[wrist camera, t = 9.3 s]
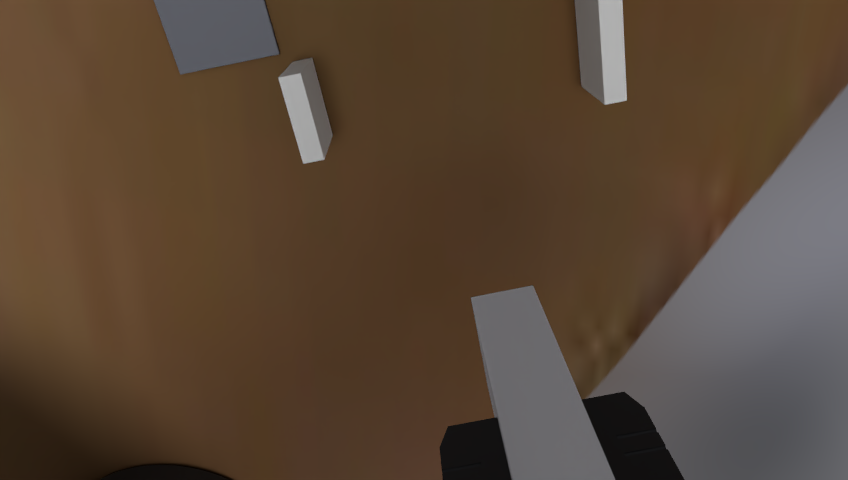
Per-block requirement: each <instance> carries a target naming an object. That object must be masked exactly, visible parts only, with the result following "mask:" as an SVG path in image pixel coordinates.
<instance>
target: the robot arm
mask: <svg viewBox="0 0 848 480" xmlns="http://www.w3.org/2000/svg"><path fill="white" fill-rule="evenodd" d="M471 301H472V306H473V312H474V317H475V322H476V327H477V332H478V338H479V343H480V348H481V353H482V359H483V364H484V369H485V374H486V380H487V385H488V390H489V394H490V399H491V403H492V408H493V412H494V417H495V418H491V419H485V420H480V421H475V422H469V423H464V424H459V425H453V426H448V428H447V430H446V433H445V435H444V438H443V440H442V443H441V445H440V455H441V465H442V473H443V474H442V475H443V480H684V478H683V476H682V475H681V473H680V471H679V469H678V467H677V466H676V464H675V462H674V460H673V458H672V457H671V455H670V453H669V451H668V450H666V447H665V444H664V442H663V440H662V439H661V437H660V435H659V433H658V432H657V431H656V428H655V426H654V424H653V422H652V420H651V419H650V417H649V415H648V413H647V411H646V410H645V408H644V407H643V406H642V405H640V404H639V403H638V402H637V401H635V400H634V399H633V398H631V397H630V396H629V395H628V394H626V393H625V392H621V393H615V394H610V395H604V396H599V397H594V398H588V399H583V400H581V398H580V395H579V393H578V391H577V388H576V386H575V383H574V381H573V379H572V376H571V374H570V372H569V369H568V367H567V365H566V362H565V360H564V358H563V355H562V353H561V350H560V348H559V346H558V343H557V341H556V339H555V336H554V334H553V332H552V329H551V327H550V324H549V322H548V320H547V317H546V315H545V313H544V310H543V308H542V306H541V303H540V301H539V299H538V296H537V294H536V291H535V289H534V287H533V285H532V286H527V287H522V288H517V289H512V290H507V291H502V292H497V293H491V294H486V295H481V296H476V297H471ZM100 480H228V479H226V478H224V477H221V476H219V475H216V474H213V473H210V472H207V471H203V470H199V469H195V468H189V467H183V466H173V465H150V466H140V467H134V468H129V469H125V470H122V471H119V472H116V473H113V474H110V475H108V476H106V477H104V478H102V479H100Z"/></svg>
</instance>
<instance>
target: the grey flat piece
mask: <svg viewBox="0 0 848 480" xmlns="http://www.w3.org/2000/svg"><path fill="white" fill-rule="evenodd" d="M154 2H155V5H156V8H157V11H158V13H159V16H160V19H161V22H162V25H163V27H164V30H165V33H166V36H167V39H168V41H169V44H170V47H171V50H172V52H173V55H174V58H175V61H176V64H177V66H178V69H179V72H180V74H185V73H190V72H194V71H199V70H204V69H209V68H214V67H219V66H224V65H229V64H233V63H238V62H243V61H248V60H253V59H258V58H263V57H268V56H272V55H277V54H280V52H279V49H278V45H277V42H276V38H275V35H274V31H273V28H272V24H271V21H270V17H269V14H268V10H267V7H266V3H265V0H154ZM575 12H576V25H577V38H578V51H579V63H580V76H581V86H582V87H583V88H584V89H585V90H587V91H588V92H589V93H590V94H592V95H593V96H594V97H596V98H597V99H598V100H599V101H601V102H602V103H603V104H604V105H606V104H611V103H617V102H622V101H627V92H626V71H625V49H624V27H623V5H622V0H575ZM278 79H279V82H280V85H281V89H282V92H283V96H284V99H285V103H286V106H287V110H288V113H289V116H290V120H291V123H292V127H293V130H294V134H295V137H296V140H297V144H298V147H299V151H300V154H301V158H302V161H303V164H305V163H310V162H315V161H320V160H324V159H325V156H326V153H327V151H328V148H329V145H330V142H331V139H332V136H333V134H332V130H331V127H330V123H329V119H328V115H327V111H326V108H325V104H324V100H323V96H322V92H321V89H320V85H319V81H318V77H317V73H316V70H315V66H314V62H313V58H308V59H303V60H298V61H294V62H292V63H291V64H290V65H289V66H288V67H287V69H286V70H285V71H284V72H283V73H282V74H281V75H280V76H279V77H278Z"/></svg>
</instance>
